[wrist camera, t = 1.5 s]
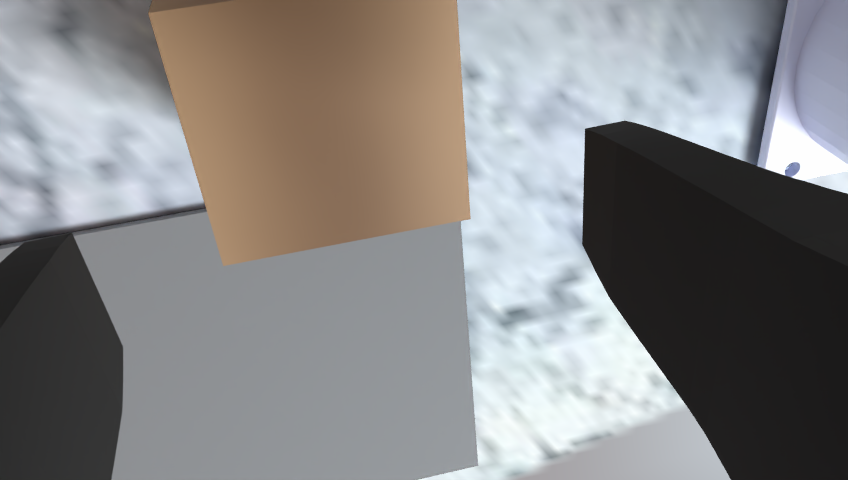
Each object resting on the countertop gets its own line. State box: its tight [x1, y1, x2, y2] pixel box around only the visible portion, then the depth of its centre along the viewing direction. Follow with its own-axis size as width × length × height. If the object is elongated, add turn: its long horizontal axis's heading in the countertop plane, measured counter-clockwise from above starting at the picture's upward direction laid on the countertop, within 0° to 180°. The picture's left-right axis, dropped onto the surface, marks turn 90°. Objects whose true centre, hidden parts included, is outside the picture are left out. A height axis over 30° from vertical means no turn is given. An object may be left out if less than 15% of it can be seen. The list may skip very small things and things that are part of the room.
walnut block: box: [148, 0, 470, 266], centre depth 16 cm, size 5×5×6 cm
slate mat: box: [0, 208, 478, 480], centre depth 24 cm, size 13×13×1 cm
